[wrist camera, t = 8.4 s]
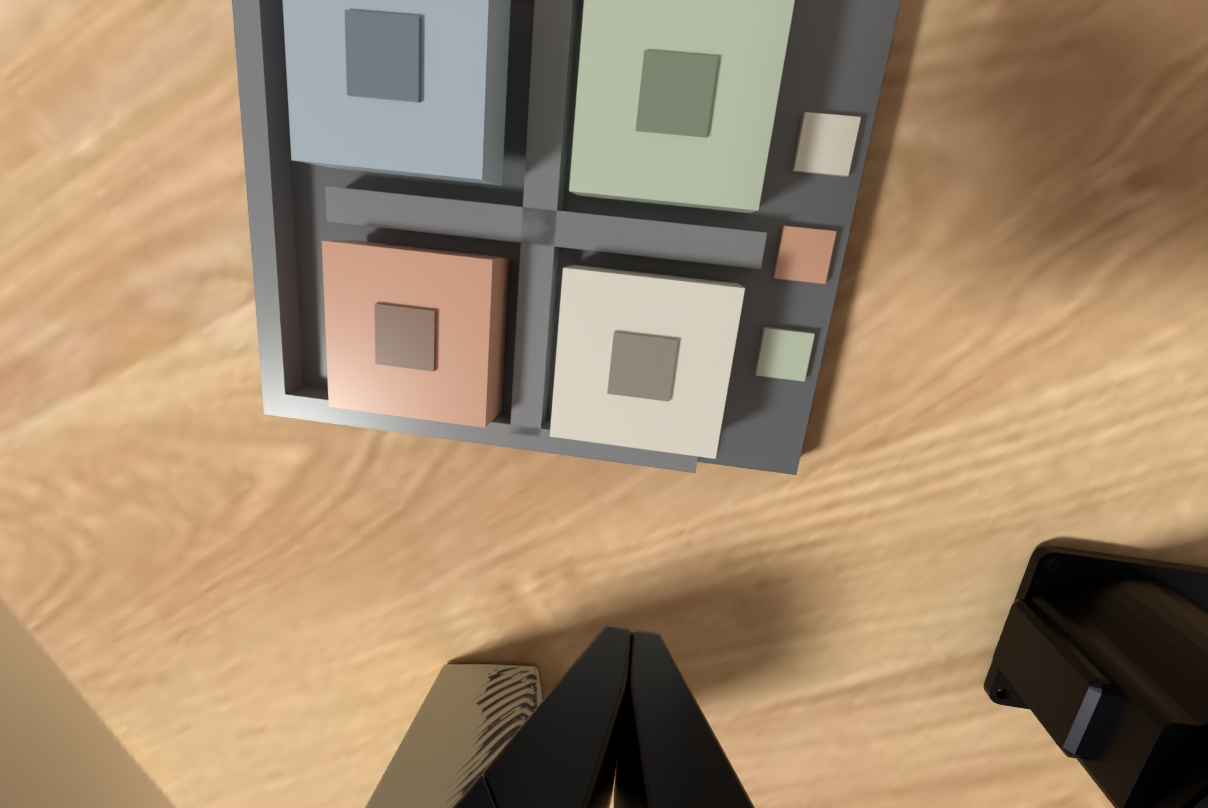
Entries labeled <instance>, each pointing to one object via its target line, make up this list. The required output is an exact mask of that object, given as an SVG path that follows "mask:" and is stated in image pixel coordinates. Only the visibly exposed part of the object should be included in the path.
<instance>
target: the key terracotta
mask: <svg viewBox="0 0 1208 808" xmlns="http://www.w3.org/2000/svg"><path fill="white" fill-rule="evenodd" d="M322 258H323V281H324V305H325V329H326V352H327V376H328V399H329V407H334V408H341V409H349V410H356V411H363V412H371V413H378V414H386V415H393V416H401V417H408V418H415V419H423V420H430V421H438V422H445V423H453V424H460V425H467V426H475V427H482V428H486V427H487V426H488V424H489V423H490V422H491V421H492V420H493V419H494V418H495V417H496V416H497V415H498V414H499V413H500V412H501V411H502V394H503V375H504V356H505V336H506V317H507V297H508V278H509V259H510V257H502V256H493V255H484V254H475V253H466V252H457V251H448V250H439V249H430V248H421V247H412V246H403V245H395V244H386V243H377V242H368V241H359V240H330V241H322Z"/></svg>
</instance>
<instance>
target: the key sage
mask: <svg viewBox="0 0 1208 808" xmlns="http://www.w3.org/2000/svg"><path fill="white" fill-rule="evenodd" d="M794 1H795V0H584V8H583V20H582V33H581V46H580V58H579V71H578V84H577V96H576V109H575V122H574V135H573V147H572V160H571V173H570V185H569V191H570V192H572V193H574V194H577V195H579V196H589V197H598V198H608V199H618V200H627V201H637V202H647V203H656V204H666V205H676V206H686V207H695V208H705V209H715V210H724V211H734V212H744V213H751V212H755V211H758V210H759V204H760V199H761V193H762V187H763V181H764V175H765V170H766V164H767V158H768V152H769V146H770V141H771V135H772V129H773V123H774V117H775V112H776V106H777V100H778V94H779V88H780V83H781V77H782V71H783V65H784V59H785V54H786V48H787V42H788V36H789V30H790V25H791V19H792V13H793V7H794Z"/></svg>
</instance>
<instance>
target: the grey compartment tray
mask: <svg viewBox="0 0 1208 808" xmlns="http://www.w3.org/2000/svg"><path fill="white" fill-rule="evenodd" d="M899 5H900V0H795V1H794V7H793V13H792V19H791V25H790V30H789V36H788V42H787V48H786V54H785V59H784V65H783V71H782V77H781V83H780V88H779V94H778V100H777V106H776V112H775V117H774V123H773V129H772V135H771V141H770V146H769V152H768V158H767V164H766V170H765V175H764V181H763V187H762V193H761V199H760V204H759V210H758V211H755V212H751V213H744V212H734V211H724V210H715V209H705V208H695V207H686V206H676V205H666V204H656V203H647V202H637V201H627V200H618V199H608V198H598V197H589V196H579V195H577V194H574V193H572V192H570V191H569V185H570V173H571V160H572V147H573V135H574V122H575V109H576V96H577V84H578V71H579V58H580V46H581V33H582V20H583V8H584V0H511V3H510V25H509V47H508V68H507V90H506V112H505V133H504V155H503V177H502V185H492V184H483V183H473V182H463V181H454V180H444V179H434V178H424V177H415V176H405V175H395V174H385V173H376V172H366V171H356V170H346V169H337V168H329V167H324V166H319V165H314V164H309V163H304V162H299V161H293V160H291V142H290V124H289V106H288V88H287V70H286V52H285V34H284V16H283V0H232V7H233V20H234V33H235V46H236V59H237V71H238V84H239V97H240V110H241V123H242V136H243V148H244V161H245V174H246V187H247V200H248V213H249V226H250V238H251V251H252V264H253V277H254V290H255V303H256V315H257V328H258V341H259V354H260V367H261V380H262V393H263V405H264V414H268V415H275V416H282V417H290V418H297V419H304V420H312V421H319V422H326V423H334V424H341V425H348V426H356V427H363V428H370V429H378V430H385V431H392V432H399V433H407V434H414V435H421V436H429V437H436V438H443V439H451V440H458V441H465V442H473V443H480V444H487V445H494V446H502V447H509V448H516V449H524V450H531V451H538V452H546V453H553V454H560V455H568V456H575V457H582V458H589V459H597V460H604V461H611V462H619V463H626V464H633V465H641V466H648V467H655V468H663V469H670V470H677V471H684V472H692V473H695V472H696V466H697V462H704V463H711V464H719V465H726V466H733V467H741V468H748V469H756V470H763V471H770V472H778V473H785V474H793V475H796V474H797V469H798V465H799V460H800V456H801V451H802V447H803V442H804V438H805V433H806V428H807V424H808V419H809V415H810V410H811V406H812V401H813V397H814V392H815V387H816V383H817V378H818V374H819V369H820V365H821V360H822V356H823V351H824V346H825V342H826V337H827V333H828V328H829V324H830V319H831V315H832V310H833V305H834V301H835V296H836V292H837V287H838V283H839V278H840V274H841V269H842V264H843V260H844V255H845V251H846V246H847V242H848V237H849V233H850V228H851V223H852V219H853V214H854V210H855V205H856V201H857V196H858V192H859V187H860V182H861V178H862V173H863V169H864V164H865V160H866V155H867V151H868V146H869V141H870V137H871V132H872V128H873V123H874V119H875V114H876V110H877V105H878V100H879V96H880V91H881V87H882V82H883V78H884V73H885V69H886V64H887V59H888V55H889V50H890V46H891V41H892V37H893V32H894V28H895V23H896V18H897V14H898V9H899ZM330 240H359V241H368V242H377V243H386V244H395V245H403V246H412V247H421V248H430V249H439V250H448V251H457V252H466V253H475V254H484V255H493V256H502V257H510V259H509V278H508V297H507V317H506V336H505V356H504V375H503V394H502V411H501V412H500V413H499V414H498V415H497V416H496V417H495V418H494V419H493V420H492V421H491V422H490V423H489V424H488V426H487V427H486V428H482V427H475V426H467V425H460V424H453V423H445V422H438V421H430V420H423V419H415V418H408V417H401V416H393V415H386V414H378V413H371V412H363V411H356V410H349V409H341V408H334V407H329V399H328V376H327V352H326V329H325V305H324V281H323V258H322V241H330ZM570 265H582V266H591V267H600V268H609V269H618V270H627V271H636V272H645V273H654V274H662V275H671V276H680V277H689V278H698V279H707V280H716V281H725V282H734V283H738V284H740V285H741V286H742V287H744V288H745V291H744V297H743V303H742V309H741V315H740V320H739V326H738V332H737V338H736V344H735V349H734V355H733V361H732V367H731V373H730V378H729V384H728V390H727V396H726V402H725V407H724V413H723V419H722V425H721V431H720V436H719V442H718V448H717V454H716V459H713V458H705V457H698V456H691V455H683V454H676V453H668V452H661V451H653V450H646V449H639V448H631V447H624V446H616V445H609V444H601V443H594V442H587V441H579V440H572V439H564V438H557V437H550V427H551V414H552V401H553V389H554V376H555V363H556V351H557V338H558V325H559V313H560V300H561V287H562V274H563V268H564V267H567V266H570Z"/></svg>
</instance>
